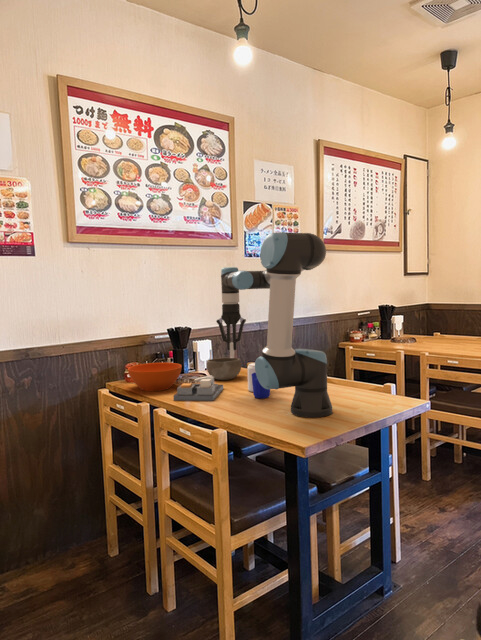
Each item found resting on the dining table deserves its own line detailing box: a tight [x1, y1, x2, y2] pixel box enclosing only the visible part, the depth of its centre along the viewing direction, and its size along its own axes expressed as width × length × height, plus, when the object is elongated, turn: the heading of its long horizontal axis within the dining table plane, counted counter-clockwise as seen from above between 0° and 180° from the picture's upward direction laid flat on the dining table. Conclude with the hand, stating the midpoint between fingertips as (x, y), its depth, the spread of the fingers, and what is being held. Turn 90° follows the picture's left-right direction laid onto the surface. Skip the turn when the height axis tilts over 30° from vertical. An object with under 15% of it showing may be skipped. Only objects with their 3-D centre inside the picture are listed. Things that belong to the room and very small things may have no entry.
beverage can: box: [247, 362, 256, 393], centre depth 205 cm, size 8×8×12 cm
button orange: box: [180, 382, 193, 388], centre depth 195 cm, size 4×4×4 cm
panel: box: [172, 383, 224, 402], centre depth 201 cm, size 22×17×5 cm
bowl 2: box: [206, 356, 242, 381], centre depth 235 cm, size 17×18×10 cm
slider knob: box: [205, 376, 215, 385], centre depth 202 cm, size 4×3×5 cm
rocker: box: [193, 375, 212, 383], centre depth 209 cm, size 3×8×1 cm, turn 81°
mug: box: [252, 373, 271, 400], centre depth 191 cm, size 8×12×10 cm
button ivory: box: [199, 379, 211, 388], centre depth 194 cm, size 4×4×4 cm
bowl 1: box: [127, 362, 183, 392], centre depth 218 cm, size 25×25×10 cm
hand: (232, 357), depth 200 cm, fingers closed
